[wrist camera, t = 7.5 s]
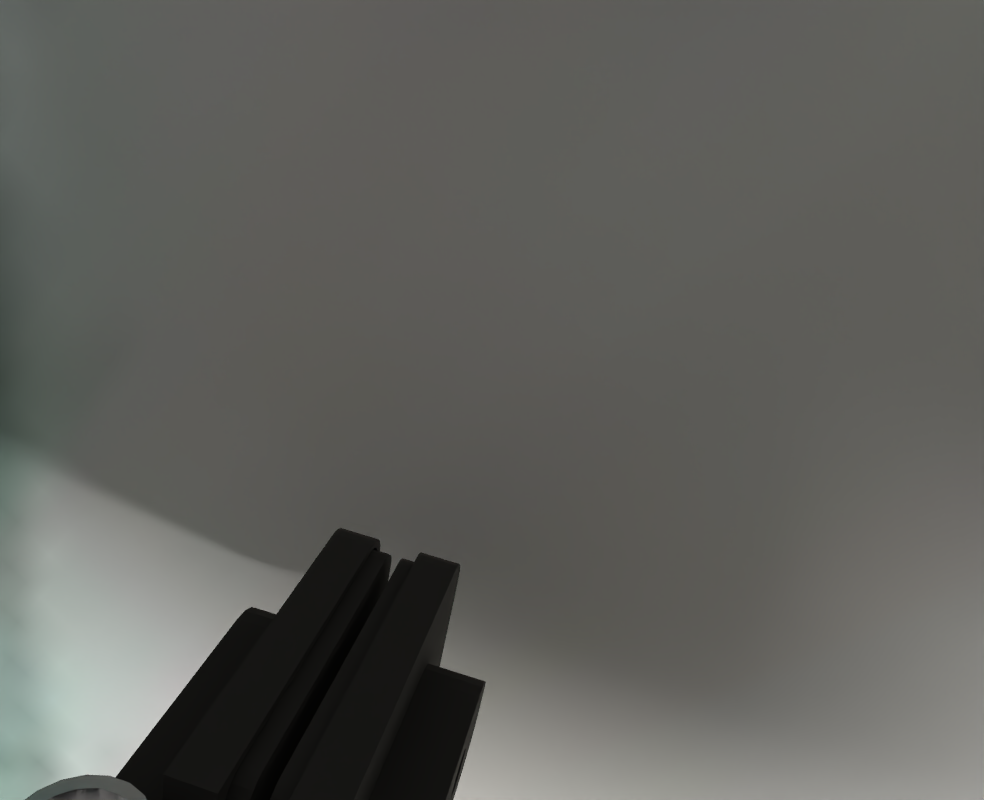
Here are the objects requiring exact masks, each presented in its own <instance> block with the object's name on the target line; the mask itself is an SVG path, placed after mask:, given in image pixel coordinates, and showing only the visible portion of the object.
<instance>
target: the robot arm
mask: <svg viewBox="0 0 984 800" xmlns="http://www.w3.org/2000/svg"><path fill="white" fill-rule="evenodd" d="M390 566H391V555H389V554H386V553H383V552H380V541H379V540H378V539H375V538H372V537H368V536H365V535H362V534H358V533H355V532H352V531H349V530H345V529H342V528H340V529H338V530H337V531H336V532H335V533H334V534H333V536H332V537H331V538H330V540H329V541H328V543H327V544H326V545H325V547H324V548H323V550H322V551H321V552H320V554H319V555H318V557H317V558H316V559H315V561H314V562H313V564H312V565H311V567H310V568H309V569H308V571H307V572H306V574H305V575H304V576H303V578H302V579H301V581H300V582H299V583H298V585H297V586H296V588H295V589H294V590H293V592H292V593H291V595H290V596H289V598H288V599H287V600H286V602H285V603H284V605H283V606H282V607H281V609H280V610H279V612H278V613H277V614H273V613H270V612H266V611H263V610H260V609H257V608H253V607H251V608H249V609H247V610H245V611H244V612H243V614H242V615H241V616H240V617H239V618H238V619H237V620H236V622H235V623H234V624H233V625H232V627H231V628H230V629H229V631H228V632H227V633H226V635H225V636H224V637H223V638H222V640H221V641H220V642H219V644H218V645H217V646H216V648H215V649H214V650H213V651H212V653H211V654H210V655H209V657H208V658H207V659H206V661H205V662H204V663H203V664H202V666H201V667H200V668H199V670H198V671H197V672H196V674H195V675H194V676H193V677H192V679H191V680H190V681H189V683H188V684H187V685H186V687H185V688H184V689H183V690H182V692H181V693H180V694H179V696H178V697H177V698H176V700H175V701H174V702H173V703H172V705H171V706H170V707H169V709H168V710H167V711H166V713H165V714H164V715H163V716H162V718H161V719H160V720H159V722H158V723H157V724H156V726H155V727H154V728H153V729H152V731H151V732H150V733H149V735H148V736H147V737H146V739H145V740H144V741H143V742H142V744H141V745H140V746H139V748H138V749H137V750H136V752H135V753H134V754H133V755H132V757H131V758H130V759H129V761H128V762H127V763H126V765H125V766H124V767H123V768H122V770H121V771H120V772H119V774H118V775H117V776H116V778H115V777H112V776H103V775H83V776H78V777H73V778H68V779H63V780H60V781H58V782H56V783H53V784H51V785H49V786H47V787H44V788H42V789H40V790H38V791H36V792H35V793H33V794H32V795H31V796H29V797H28V798H27V799H25V800H453V798H454V795H455V792H456V789H457V786H458V782H459V779H460V776H461V773H462V769H463V766H464V763H465V759H466V756H467V752H468V749H469V745H470V742H471V738H472V734H473V731H474V727H475V723H476V719H477V716H478V712H479V708H480V704H481V700H482V696H483V692H484V687H485V681H481V680H478V679H475V678H472V677H469V676H466V675H463V674H460V673H457V672H453V671H450V670H447V669H444V668H441V667H439V666H440V662H441V657H442V652H443V648H444V643H445V638H446V634H447V629H448V624H449V620H450V615H451V610H452V606H453V601H454V596H455V591H456V587H457V582H458V577H459V572H460V564H457V563H454V562H451V561H447V560H444V559H441V558H437V557H434V556H431V555H428V554H424V553H420V554H419V555H418V556H417V558H416V560H415V562H412V561H409V560H406V559H401V560H400V562H399V563H398V565H397V567H396V569H395V570H394V572H393V574H392V576H391V578H390V579H389V581H388V578H389V572H390Z"/></svg>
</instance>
